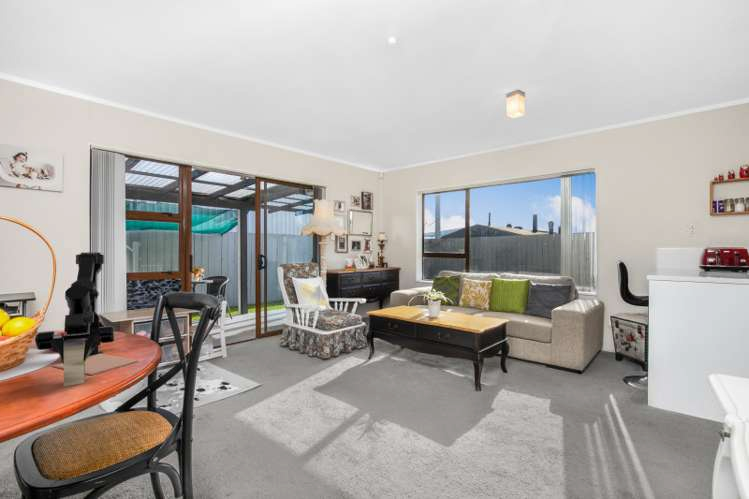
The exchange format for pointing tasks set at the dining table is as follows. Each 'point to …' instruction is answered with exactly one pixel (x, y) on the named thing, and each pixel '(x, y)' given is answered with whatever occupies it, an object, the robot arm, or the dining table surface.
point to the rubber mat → (102, 363)
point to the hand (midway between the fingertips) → (74, 361)
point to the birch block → (74, 362)
